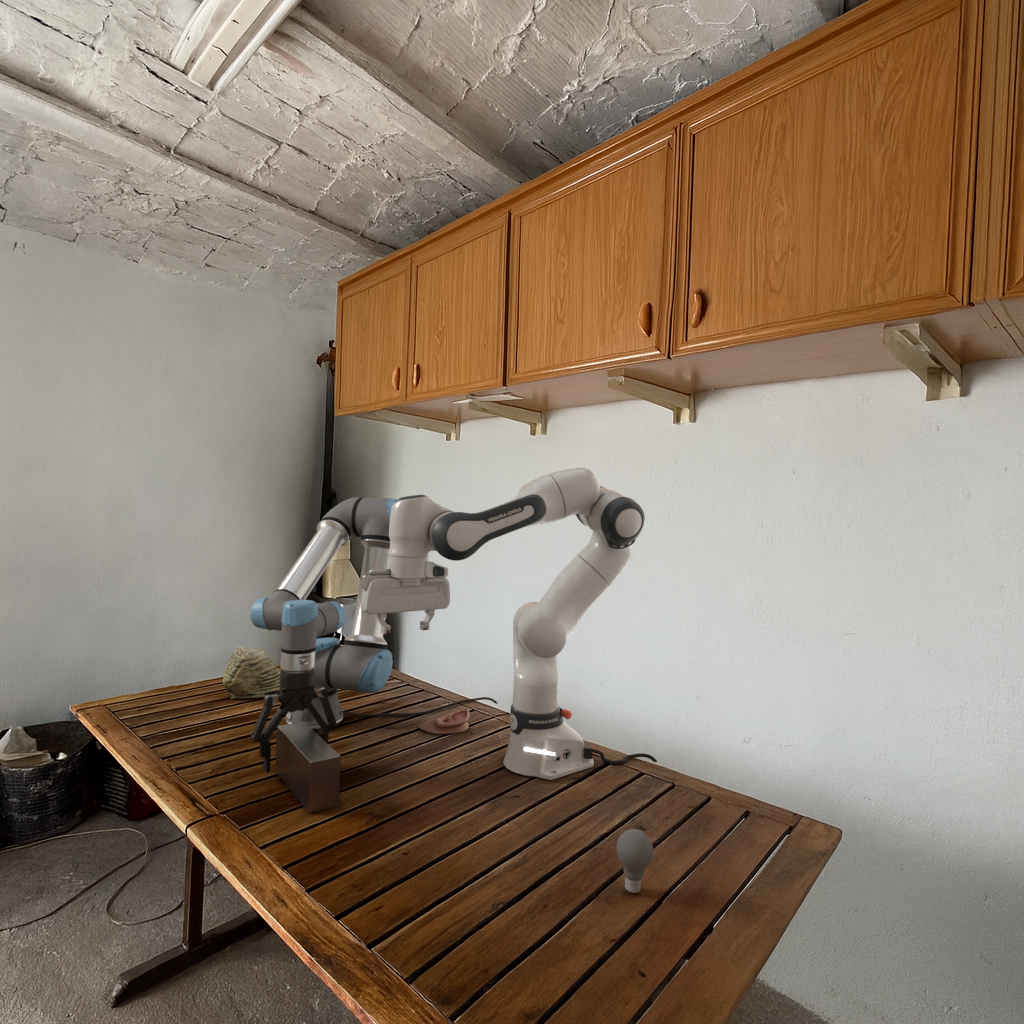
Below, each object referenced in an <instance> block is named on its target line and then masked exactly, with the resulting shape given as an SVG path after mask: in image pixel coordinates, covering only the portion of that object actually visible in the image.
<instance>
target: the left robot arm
mask: <svg viewBox="0 0 1024 1024" xmlns="http://www.w3.org/2000/svg"><path fill="white" fill-rule="evenodd" d="M397 499H398V498H391V497H388V498H387V497H385V498H383V497H381V498H380V497H360V496H355V497H351V498H348V499H345V500H343V501H342V502H340V503H338V504H337V505H335V506H333V507H332V508H331V509H330V510H329V511H328V512H327V513H325V515H323V517H322V518H321V519H320V520H319V522H318V524H317V525H316V532H315V534H314V536H313V537H311V540H310V541H309V542H308V544H307V545H306V547H305V548H304V550H303V551H302V552H301V554H300V555H299V556H298V558H297V560H296V561H295V562H294V563H293V565H292V567H291V568H290V569H289V571H288V572H287V573H286V575H285V576H284V578H283V579H282V581H281V582H280V583H279V585H278V586H277V587H276V589H275V590H274V591H273V593H272V594H271V596H270V597H260V598H258V599H256V600H255V601H254V602H253V604H252V605H251V609H250V614H249V615H250V621H251V623H252V625H253V626H254V627H256V628H258V629H261V630H262V629H263V630H268V631H278V632H279V631H281V646H280V664H279V668H280V689H279V693H278V694H276V695H271V696H270V695H268V694H266V695H265V696H264V697H263V704H262V708H261V710H260V712H259V715H258V717H257V720H256V722H255V724H254V727H253V729H252V731H251V735H250V739H251V740H252V741H253V742H254V743H259V745H258V748H259V749H258V755H259V757H260V758H261V759H262V763H263V764H262V770H263V771H264V772H265V773H266V774H270V773H271V759H272V758H271V755H272V742H271V741H270V739H271V737H272V736H273V734H274V733H275V731H277V727H278V726H280V725H281V722H282V721H283V720H284V718H285V725H286V724H292V723H297V722H303V721H304V722H305V723H306V724H307V725H308V726H309V727H310V728H311V729H312V730H313V731H314V732H316V733H317V734H318V735H319V736H320V737H321V738H322V739H323V740H324V741H325V742H326V743H327V744H328V745H329V736H330V735H329V734H330V733H331V731H332V729H336V728H337V727H339V726H340V725H342V723H343V722H344V715H345V716H355V717H360V718H364V717H365V718H373V717H391V716H392V717H412V716H420V715H426V714H430V713H435V712H439V711H442V710H444V709H447V708H451V707H453V706H456V705H459V704H462V703H470V702H476V701H481V700H482V701H483V700H487V701H490V702H493V703H494V704H496V705H497V704H499V703H498V702H497V700H495V699H494V698H492V697H487V696H482V697H474V698H469V699H462V700H459V701H458V700H457V701H455V702H452V703H449V704H446V705H443V706H440V707H437V708H433V709H428V710H425V711H418V712H405V713H404V712H403V713H402V712H401V713H400V712H399V713H398V712H386V713H385V712H384V713H382V712H381V713H357V712H350V711H343V709H342V706H341V702H340V699H339V695H338V690H342V691H351V692H358V693H361V694H363V693H369V694H374V693H378V692H380V691H381V690H382V689H383V688H384V687H385V685H386V684H387V682H388V681H389V678H390V676H391V673H392V669H393V664H394V663H393V662H394V660H393V653H392V652H391V651H390V650H389V649H387V647H388V643H387V641H386V639H385V638H384V634H382V633H381V625H380V623H379V621H378V619H377V617H376V614H371V615H370V614H366V613H364V612H363V611H362V609H361V597H362V592H363V586H362V582H363V576H364V575H365V574H366V573H368V572H369V571H370V570H384V569H387V568H388V552H389V549H390V538H389V523H390V514H391V509H392V505H393V503H394V502H395V501H396V500H397ZM352 538H360V543H361V545H362V546H363V547H364V553H363V559H362V564H361V565H362V566H361V572H360V577H359V584H358V590H357V597H356V603H355V608H354V615H353V620H352V627H351V633H350V634H349V635H348V636H346V637H345V638H344V641H343V645H341V641H340V639H339V638H338V637H323V636H327V635H331V634H334V633H335V632H337V631H339V630H340V629H341V628H343V626H344V625H345V623H346V619H347V614H346V611H345V608H344V606H342V605H341V603H339V602H337V601H324V602H319V603H318V602H316V601H314V600H311V599H307V598H308V596H309V595H310V593H311V592H312V590H313V589H314V587H315V586H316V584H317V583H318V582H319V580H320V578H321V576H322V575H323V574H324V572H325V570H326V569H327V567H328V566H329V564H330V563H331V562H332V560H333V559H334V557H335V556H336V554H337V552H338V551H339V549H340V548H341V547H343V546H345V545H347V543H349V540H351V539H352ZM368 575H369V574H368ZM384 620H385V621H386V618H384ZM276 702H279V706H278V707H277V709H276V712H275V713H274V714H273V715H272V717H271V719H270V720H269V718H270V715H271V712H272V709H273V706H275V704H276ZM268 720H269V722H268ZM267 722H268V723H267ZM266 724H267V725H266Z"/></svg>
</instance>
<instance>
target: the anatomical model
mask: <svg viewBox="0 0 1024 1024" xmlns="http://www.w3.org/2000/svg"><path fill="white" fill-rule="evenodd" d="M470 715H471V714H470V711H469V710H468V709H461V710H457V711H454V712H450V713H447V714H445V715H442V716H439V717H437V718H436V717H435V718H432V719H429V720H427V721H424V722H422V723H421V724H420V725H419V726H418V728H419V730H421V731H423V732H427V733H430V734H434V735H445V734H447V735H448V734H455V733H456V734H457V733H462V732H465V731H467V730H468V729H469V726H470V724H469V722H468V721H469V720H470V717H471V716H470Z"/></svg>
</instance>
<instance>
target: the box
mask: <svg viewBox="0 0 1024 1024" xmlns="http://www.w3.org/2000/svg"><path fill="white" fill-rule="evenodd" d="M275 741H276V742H275V764H274V765H275V767H274V768H275V769H274V771H275V773H276V774H277V775H278V776H279V777H280V779H281V780H282V781H283V783H284V784H285V785H286V787H287V788H288V789H289V790H290V792H291V793H292V794H293V795H294V797H295V798H296V800H298V802H299V803H300V805H301V806H302V807H303V808H304V809H305V810H306V812H307V813H308V815H309V814H313V813H317V812H321V811H325V810H328V809H333V808H335V807H339V806H340V784H341V783H340V781H341V755H340V754H339V753H338V752H337V751H336V750H335V749H334V748H332V746H330V744H329V743H328V744H327V743H326V742H325V741H324V740H323V739H322V738H321V737H320V736H319V735H318V732H314V731H313V730H312V729H311V728H310V727H309V726H308V725H307V724H306V723H305V722H304V721H303V722H297V723H292V724H286V723H285V724H279V725H278V727H277V728H276V738H275Z"/></svg>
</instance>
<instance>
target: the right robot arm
mask: <svg viewBox="0 0 1024 1024" xmlns="http://www.w3.org/2000/svg"><path fill="white" fill-rule="evenodd" d="M396 499H397V500H396V501H395V502H394V503H393V505H392V509H391V514H390V523H389V538H390V549H389V552H388V568H387V569H384V570H370V571H369V572H368V573H366V574H365V575H364V576H363V582H362V586H363V592H362V597H361V609H362V611H363V612H364V613H366V614H370V615H371V614H376V617H377V619H378V621H379V623H380V625H381V633H382V634H383V635H388V634H391V632H392V631H391V629H392V626H391V625H390V624H388V623H387V622H386V619H387V614H394V613H408V612H409V613H410V612H420V611H422V612H423V611H424V614H425V616H424V618H423V620H420V621H419V629H420V630H421V631H429V630H430V623H431V621H432V620H433V618H434V617H435V612H436V610H446V609H447V608H448V607H449V606H450V604H451V585H450V581H449V579H448V578H447V577H448V576H449V568H448V567H447V566H443V565H440V564H437V563H436V562H433V561H430V560H429V558H430V552H437V553H438V554H439V555H440V556H441V557H443V558H444V559H446V560H449V561H454V562H455V561H457V562H458V561H463V560H466V559H468V558H470V557H472V556H473V555H474V554H475V553H477V551H479V549H480V548H482V547H483V546H484V545H485V544H487V543H488V542H491V540H495V539H497V538H499V537H502V536H505V535H507V534H510V533H513V532H515V531H518V530H520V529H523V528H527V527H528V528H529V527H538V526H542V525H543V526H544V525H548V524H552V523H555V522H559V521H562V520H565V519H567V518H570V517H572V516H575V517H576V518H577V519H578V521H579V522H580V523H581V524H582V525H583V526H585V527H587V528H588V529H590V530H592V534H591V537H590V540H589V541H588V543H587V544H586V546H584V547H583V548H582V549H581V550H580V551H579V552H578V553H577V554H576V555H575V556H574V557H573V558H572V560H571V561H569V563H567V565H566V566H565V567H564V568H563V569H562V570H561V571H560V572H559V573H558V574H557V576H555V578H554V579H553V580H552V583H551V585H549V588H548V589H547V590H546V592H545V593H544V595H543V596H542V597H541V598H540V600H539V601H528V602H526V603H525V602H524V603H523V604H522V605H521V606H519V607H518V609H516V611H515V613H514V616H513V621H512V622H513V623H512V626H513V627H512V647H513V648H512V651H513V652H512V654H513V655H512V656H513V659H512V660H513V684H512V685H513V687H512V704H511V705H510V713H509V729H510V731H509V738H508V743H507V748H506V752H505V755H504V757H503V763H502V764H503V766H504V767H505V768H506V769H507V770H509V771H510V772H513V773H514V774H518V775H522V776H527V777H536V778H540V779H543V780H548V781H554V780H556V779H560V778H562V777H565V776H568V775H572V774H574V773H577V772H581V771H584V770H588V769H590V768H593V767H594V766H595V761H594V758H593V754H597V755H599V756H600V758H601V761H602V762H604V763H605V764H608V765H613V766H614V765H624V764H625V763H626V762H627V761H628V760H629V759H635V758H647V759H649V760H651V761H652V762H653V763H658V760H657V759H656V758H655V757H654V756H652V755H651V754H648V753H643V752H640V753H632V754H627V755H625V756H623V758H622V759H620V760H619V759H618V760H612V759H611V760H610V759H607V758H606V757H605V754H604V752H602V751H601V750H600V749H595V748H593V747H592V744H591V742H590V741H589V742H588V741H584V739H583V737H582V736H581V735H580V734H579V732H577V731H576V730H575V729H574V728H572V727H571V726H570V725H569V724H567V723H566V722H565V721H564V719H565V720H570V719H571V718H572V715H573V713H572V711H570V710H568V709H567V708H563V707H561V706H559V687H560V673H559V663H558V655H559V654H560V653H561V652H562V651H563V649H564V648H565V646H566V643H567V641H568V639H569V638H570V636H571V635H572V634H573V632H574V631H575V630H576V628H577V627H578V625H579V623H580V622H581V620H582V619H583V617H584V616H585V615H586V613H587V612H588V611H589V609H590V608H591V607H592V606H593V605H594V604H595V603H596V601H598V599H600V598H601V596H603V594H604V593H605V592H606V591H607V590H608V589H609V588H610V587H611V586H612V584H613V583H614V582H615V581H616V580H617V578H618V577H619V576H620V575H621V573H622V572H623V571H624V570H625V568H626V567H627V565H628V564H629V562H630V560H631V558H632V554H633V551H632V547H631V546H632V545H633V544H634V543H635V542H636V539H638V537H639V536H640V534H641V533H642V531H643V528H644V526H645V520H646V516H645V512H644V509H643V508H642V506H641V505H640V504H639V503H638V502H637V501H636V500H635V499H633V498H631V497H628V496H626V495H625V494H623V493H621V492H619V491H617V490H612V489H609V488H606V487H604V486H601V485H600V482H599V480H598V478H597V476H596V475H595V473H594V472H593V471H591V470H590V469H589V468H585V467H575V468H569V469H568V468H567V469H563V470H558V471H554V472H551V473H548V474H545V475H542V476H539V477H537V478H534V479H532V480H531V481H529V482H527V483H525V484H523V485H522V486H521V487H520V488H519V490H518V492H517V495H515V497H514V498H512V499H511V500H509V501H507V502H504V503H502V504H499V505H496V506H493V507H491V508H488V509H485V510H482V511H479V512H464V511H453V510H451V509H448V508H446V507H444V506H443V505H440V504H438V503H437V502H435V501H433V500H432V499H430V498H429V497H428V496H427V495H425V494H414V495H413V494H412V495H406V496H403V497H402V496H401V497H399V498H396ZM368 574H369V575H368ZM384 618H385V620H384Z"/></svg>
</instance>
